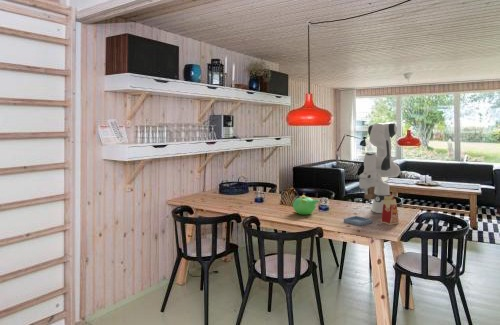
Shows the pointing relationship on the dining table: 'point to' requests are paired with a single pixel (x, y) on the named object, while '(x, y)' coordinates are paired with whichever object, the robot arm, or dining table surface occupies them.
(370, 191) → the walnut block
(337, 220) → the dining table surface
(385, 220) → the milk carton
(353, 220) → the slate tray
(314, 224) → the dining table surface
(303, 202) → the green teapot
